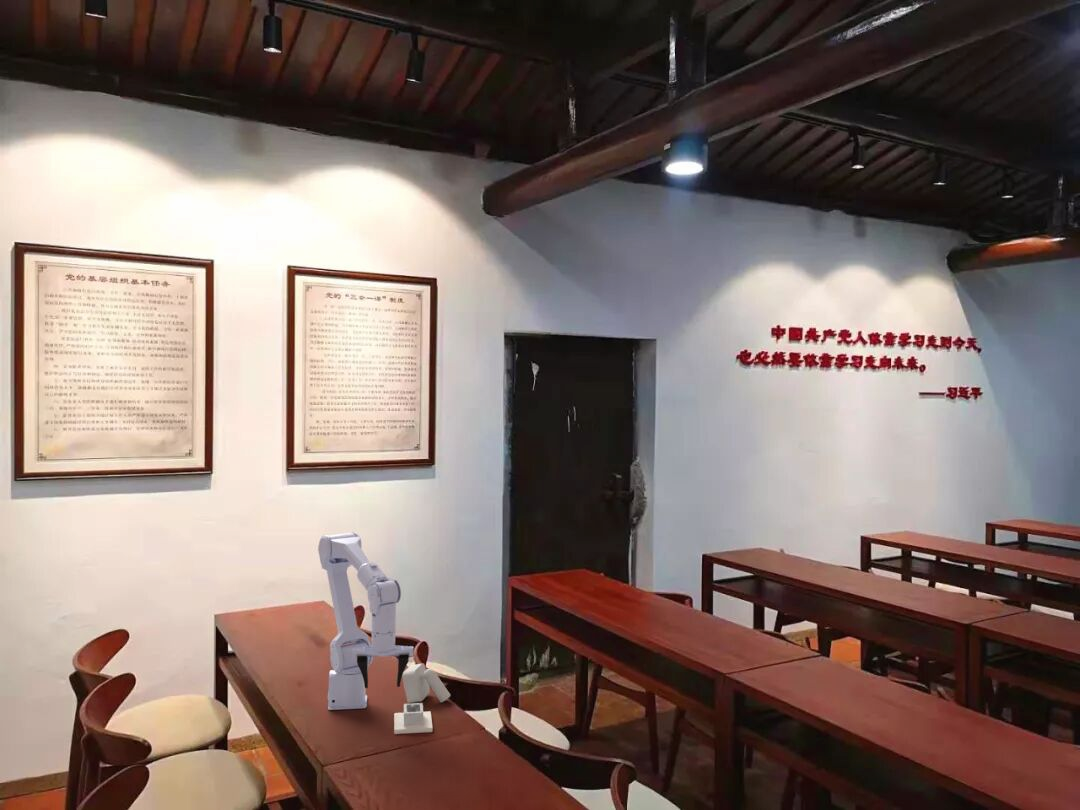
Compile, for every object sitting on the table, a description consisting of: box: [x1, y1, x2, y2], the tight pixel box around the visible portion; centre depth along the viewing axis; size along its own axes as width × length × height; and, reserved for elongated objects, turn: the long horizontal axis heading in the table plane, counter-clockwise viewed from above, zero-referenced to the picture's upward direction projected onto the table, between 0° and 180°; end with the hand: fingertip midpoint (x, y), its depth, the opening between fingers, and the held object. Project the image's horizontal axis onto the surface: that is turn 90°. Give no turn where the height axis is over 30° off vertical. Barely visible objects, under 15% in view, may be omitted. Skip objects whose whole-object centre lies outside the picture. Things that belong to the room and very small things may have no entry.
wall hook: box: [402, 663, 451, 704], centre depth 213 cm, size 8×10×10 cm
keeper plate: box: [393, 705, 433, 735], centre depth 198 cm, size 9×10×4 cm
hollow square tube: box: [403, 702, 424, 726], centre depth 198 cm, size 6×5×3 cm
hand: (382, 686), depth 197 cm, fingers open, 7 cm apart
